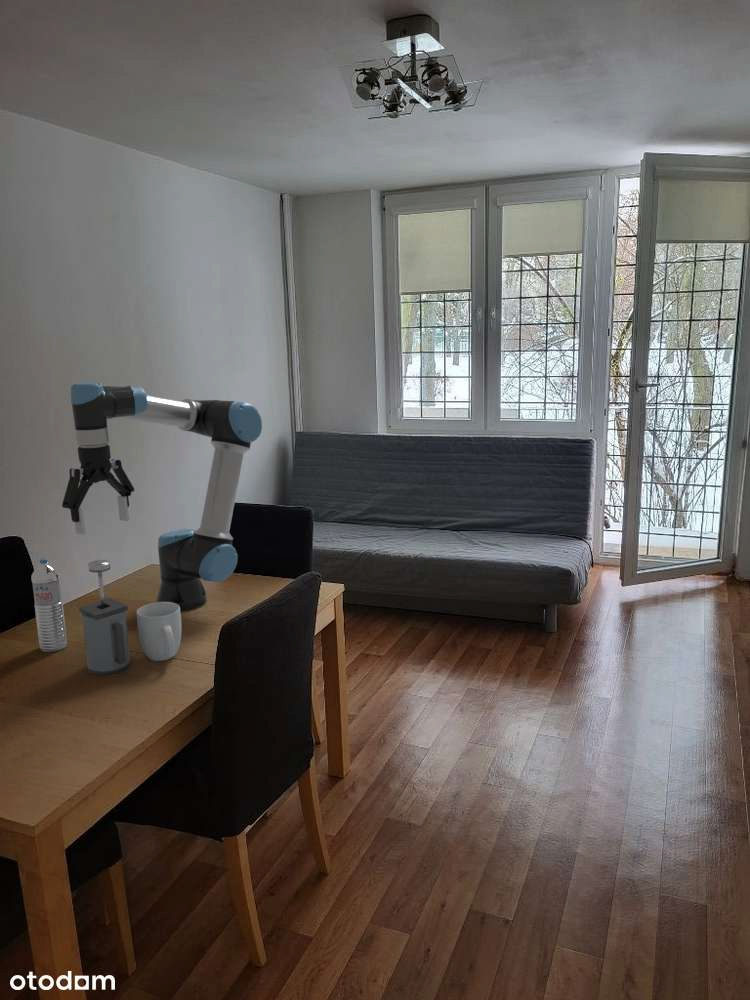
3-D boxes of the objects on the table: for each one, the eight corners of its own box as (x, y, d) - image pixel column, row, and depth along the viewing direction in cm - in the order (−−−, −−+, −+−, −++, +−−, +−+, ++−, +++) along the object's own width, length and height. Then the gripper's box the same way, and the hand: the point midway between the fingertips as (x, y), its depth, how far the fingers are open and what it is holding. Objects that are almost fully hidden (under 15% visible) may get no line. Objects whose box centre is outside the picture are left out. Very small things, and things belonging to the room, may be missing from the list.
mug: (194, 663, 188) (191, 615, 185) (152, 674, 182) (147, 625, 179) (175, 643, 200) (172, 598, 197) (134, 653, 194) (130, 607, 192)
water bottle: (72, 644, 200) (63, 557, 195) (52, 654, 194) (42, 564, 188) (54, 640, 203) (44, 554, 197) (34, 650, 197) (23, 561, 191)
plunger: (109, 617, 189) (104, 557, 185) (122, 623, 185) (116, 562, 181) (87, 624, 184) (81, 563, 181) (99, 630, 180) (93, 568, 177)
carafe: (116, 654, 194) (111, 596, 190) (142, 667, 186) (136, 607, 182) (80, 667, 187) (74, 607, 183) (105, 681, 179) (99, 619, 175)
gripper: (123, 436, 195) (131, 513, 200) (39, 452, 175) (51, 537, 180) (142, 438, 191) (150, 516, 197) (59, 454, 171) (70, 541, 176)
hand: (103, 526), depth 188 cm, fingers open, 13 cm apart
